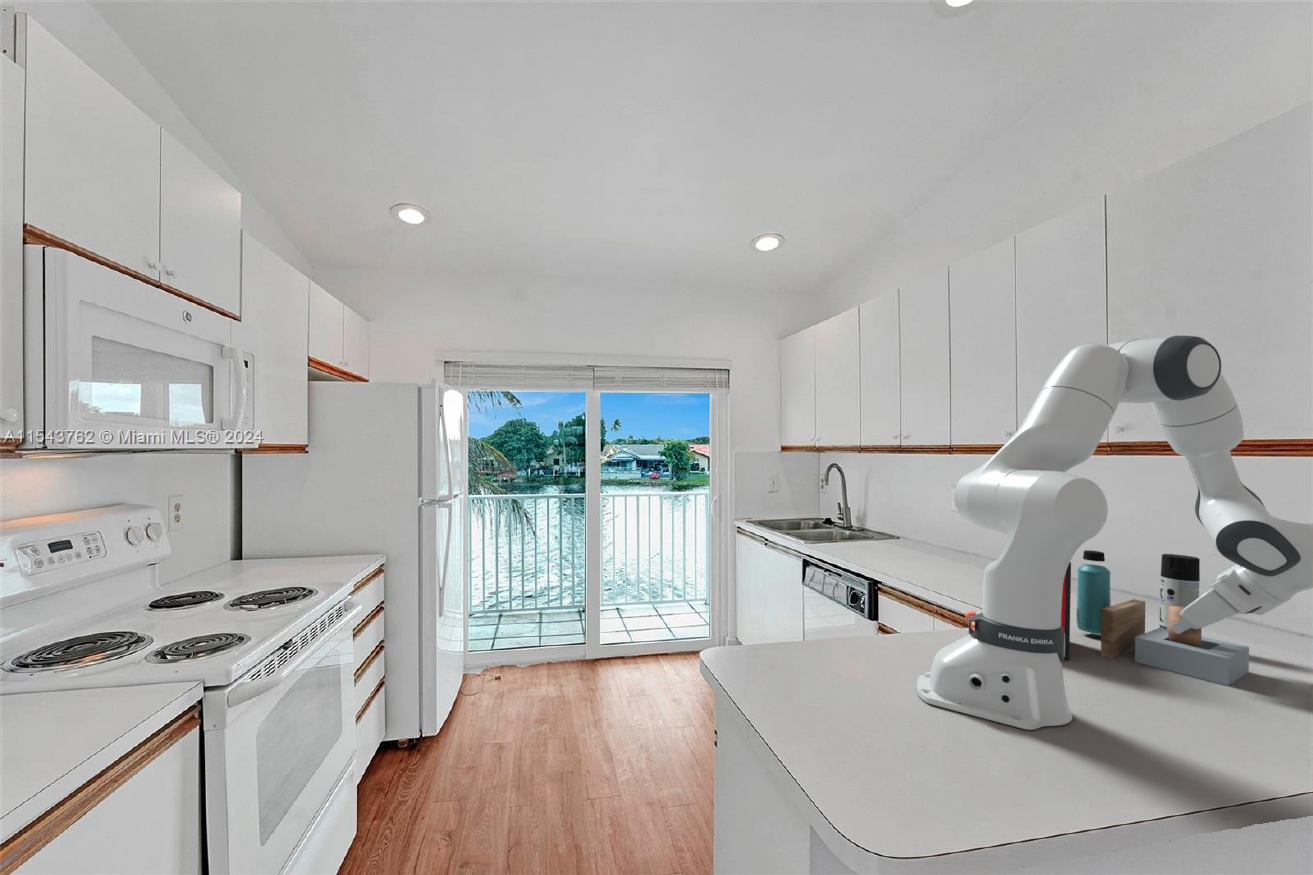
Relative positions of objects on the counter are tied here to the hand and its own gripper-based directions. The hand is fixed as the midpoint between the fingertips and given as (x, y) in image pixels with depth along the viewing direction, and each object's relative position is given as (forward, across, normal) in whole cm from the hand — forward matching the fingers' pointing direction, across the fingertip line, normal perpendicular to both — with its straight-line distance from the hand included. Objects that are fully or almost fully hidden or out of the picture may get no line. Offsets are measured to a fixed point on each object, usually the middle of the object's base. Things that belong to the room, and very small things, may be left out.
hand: (1180, 628), depth 121 cm
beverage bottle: (+18, -6, -7) cm, 20 cm away
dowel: (+3, 0, +4) cm, 5 cm away
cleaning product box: (+20, +13, -8) cm, 25 cm away
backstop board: (+12, 0, -1) cm, 12 cm away
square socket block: (+4, 0, +6) cm, 8 cm away
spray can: (+9, -19, +2) cm, 21 cm away
